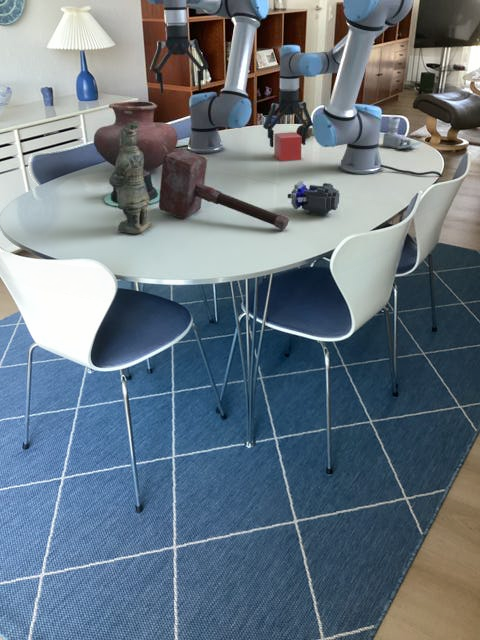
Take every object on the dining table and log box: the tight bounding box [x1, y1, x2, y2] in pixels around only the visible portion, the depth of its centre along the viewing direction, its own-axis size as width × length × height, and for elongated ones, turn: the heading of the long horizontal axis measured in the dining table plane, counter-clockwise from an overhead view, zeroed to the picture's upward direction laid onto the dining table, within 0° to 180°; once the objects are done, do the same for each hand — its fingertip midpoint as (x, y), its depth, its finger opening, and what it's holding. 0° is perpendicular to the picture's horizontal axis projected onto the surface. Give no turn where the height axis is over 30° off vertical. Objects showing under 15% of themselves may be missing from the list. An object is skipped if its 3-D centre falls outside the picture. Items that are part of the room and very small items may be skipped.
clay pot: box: [93, 100, 179, 172], centre depth 208 cm, size 30×30×25 cm
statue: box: [108, 121, 153, 235], centre depth 154 cm, size 11×9×30 cm
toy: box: [287, 180, 341, 216], centre depth 168 cm, size 9×9×15 cm
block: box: [273, 131, 302, 162], centre depth 226 cm, size 9×9×9 cm
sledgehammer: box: [158, 148, 290, 231], centre depth 163 cm, size 17×10×40 cm
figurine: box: [295, 123, 314, 140], centre depth 261 cm, size 13×8×25 cm
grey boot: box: [382, 116, 422, 150], centre depth 236 cm, size 9×12×15 cm
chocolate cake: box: [103, 169, 160, 207], centre depth 186 cm, size 15×19×20 cm
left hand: (181, 91), depth 198 cm, fingers open, 13 cm apart
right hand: (287, 145), depth 226 cm, fingers open, 13 cm apart
